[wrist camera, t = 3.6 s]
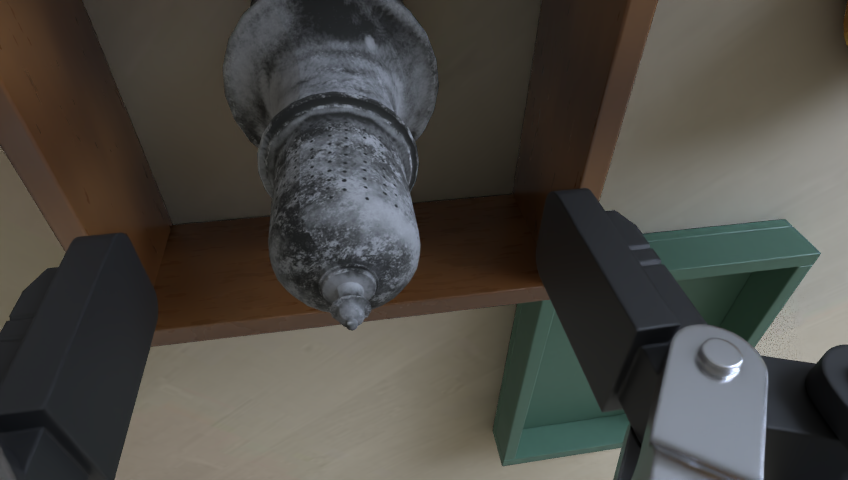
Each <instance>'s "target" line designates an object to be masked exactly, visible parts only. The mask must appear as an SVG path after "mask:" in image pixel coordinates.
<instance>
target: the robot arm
mask: <svg viewBox="0 0 848 480" xmlns="http://www.w3.org/2000/svg"><path fill="white" fill-rule="evenodd" d="M536 264H537V269H538V273H539V276H540V279H541V281H542V283H543V285H544V287H545V290H546V292H547V294H548V296H549V298H550V300H551V303H552V305H553V307H554V309H555V311H556V314H557V316H558V318H559V320H560V322H561V324H562V327H563V329H564V331H565V333H566V335H567V338H568V340H569V342H570V344H571V346H572V348H573V351H574V353H575V355H576V357H577V359H578V362H579V364H580V366H581V368H582V370H583V373H584V375H585V377H586V379H587V381H588V383H589V386H590V388H591V390H592V392H593V394H594V397H595V399H596V401H597V403H598V405H599V407H600V410H601V412H609V411H615V410H622V409H623V410H624V412H625V414H626V416H627V418H628V420H629V422H630V423H629V425H628V427H627V430H626V433H625V436H624V440H623V444H622V448H621V452H620V456H619V460H618V463H617V467H616V471H615V475H614V479H613V480H848V345H839V346H835V347H833V348H831V349H829V350H828V351H827V352H826V353H825V354H824V355H823V356H822V358H821V359H820V360H819V361H818V362H817V364H814V363H807V362H800V361H794V360H787V359H780V358H773V357H766V356H761V355H760V354H759V353H758V351H757V350H756V349H755V348H754V347H753V346H752V345H751V344H749V343H748V342H747V341H746V340H744V339H743V338H741V337H740V336H738V335H737V334H735V333H733V332H731V331H728V330H726V329H724V328H720V327H717V326H713V325H708V324H707V323H706V321H705V320H704V319H703V317H702V316H701V315H700V313H699V312H698V310H697V309H696V308H695V306H694V305H693V303H692V302H691V301H690V299H689V298H688V297H687V295H686V294H685V292H684V291H683V290H682V288H681V287H680V285H679V284H678V283H677V281H676V280H675V279H674V277H673V276H672V274H671V273H670V272H669V270H668V269H667V267H666V266H665V265H664V264H661V259H660V258H659V256H658V255H657V254H656V252H655V251H654V249H653V248H650V244H649V242H648V241H647V240H646V238H645V237H644V236H643V234H642V233H641V231H640V230H639V229H638V227H637V226H636V225H635V224H633V223H632V222H631V221H629V220H628V219H626V218H625V217H624V216H622V215H621V214H619V213H618V212H617V211H615V210H612V211H605V210H604V209H603V208H602V206H601V205H600V203H599V202H598V200H597V199H596V197H595V196H594V194H593V193H592V191H591V190H589V189H588V188H580V189H570V190H560V191H551V192H549V193H548V195H547V197H546V200H545V205H544V210H543V215H542V220H541V225H540V230H539V235H538V241H537V246H536ZM9 317H10V321H6V323H5V325H4V327H3V329H2V330H1V332H0V480H114V479H115V475H116V472H117V468H118V464H119V460H120V457H121V453H122V449H123V446H124V442H125V438H126V435H127V431H128V427H129V424H130V420H131V416H132V413H133V409H134V405H135V402H136V398H137V394H138V391H139V387H140V383H141V380H142V376H143V372H144V368H145V365H146V361H147V357H148V354H149V350H150V346H151V343H152V339H153V335H154V332H155V328H156V324H157V320H158V300H157V295H156V292H155V289H154V287H153V285H152V283H151V281H150V279H149V277H148V275H147V273H146V271H145V269H144V267H143V265H142V263H141V261H140V258H139V256H138V254H137V252H136V250H135V248H134V246H133V244H132V242H131V240H130V239H129V237H128V236H127V235H126V234H124V233H111V234H101V235H91V236H81V237H76V238H74V239H73V241H72V242H71V244H70V246H69V248H68V250H67V252H66V254H65V256H64V258H63V260H62V262H61V264H60V266H59V267H56V268H47V269H46V270H45V271H44V272H43V273H42V274H41V275H40V276H39V277H38V278H36V279H35V280H34V281H33V282H32V283H31V284H30V285H29V286H28V287H27V288H26V289H25V290H24V291H23V292H22V294H21V296H20V297H19V299H18V301H17V303H16V305H15V307H14V308H13V310H12V312H11V314H10V316H9Z"/></svg>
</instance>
